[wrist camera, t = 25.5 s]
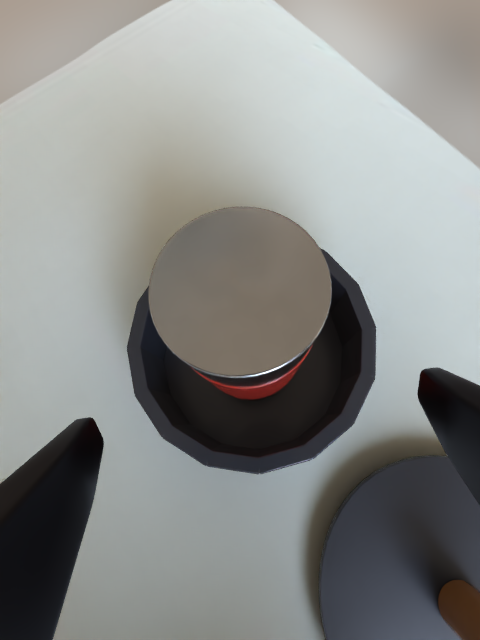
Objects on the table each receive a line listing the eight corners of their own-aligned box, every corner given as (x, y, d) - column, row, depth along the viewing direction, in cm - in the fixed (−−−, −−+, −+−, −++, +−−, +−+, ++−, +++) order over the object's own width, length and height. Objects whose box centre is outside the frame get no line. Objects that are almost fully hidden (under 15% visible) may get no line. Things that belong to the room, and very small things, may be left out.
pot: (383, 427, 21) (418, 429, 16) (177, 485, 21) (152, 505, 16) (314, 245, 25) (326, 204, 21) (140, 293, 25) (112, 263, 20)
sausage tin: (279, 416, 22) (299, 410, 10) (193, 382, 23) (114, 339, 11) (308, 330, 23) (356, 232, 11) (226, 302, 24) (190, 185, 12)
